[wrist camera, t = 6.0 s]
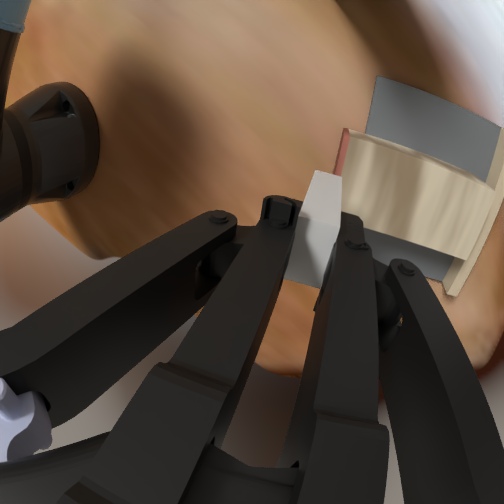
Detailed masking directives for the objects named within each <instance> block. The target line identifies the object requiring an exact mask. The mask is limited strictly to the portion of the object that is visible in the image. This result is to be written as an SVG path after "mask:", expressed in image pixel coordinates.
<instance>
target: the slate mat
mask: <svg viewBox="0 0 504 504" xmlns="http://www.w3.org/2000/svg"><path fill="white" fill-rule="evenodd" d="M365 134H368V135H371V136H374V137H378V138H381V139H384V140H387V141H390V142H393V143H396V144H399V145H402V146H405V147H408V148H410V149H413V150H416V151H419V152H421V153H424V154H426V155H429V156H432V157H434V158H437V159H439V160H442V161H444V162H446V163H449V164H451V165H454V166H456V167H458V168H461V169H463V170H465V171H467V172H469V173H472V174H474V175H475V176H477V177H478V178H479V179H481V180H482V181H483V182H484V183H486V184H487V185H488V186H489V187H491V188H492V189H493V190H494V191H496V194H495V197H494V199H493V202H492V205H491V207H490V210H489V212H488V215H487V217H486V219H485V222H484V224H483V226H482V229H481V231H480V233H479V235H478V238H477V240H476V242H475V244H474V246H473V248H472V250H471V252H470V254H469V256H468V258H467V260H463V259H460V258H457V257H455V256H452V255H449V254H446V253H443V252H440V251H437V250H434V249H431V248H428V247H425V246H422V245H419V244H416V243H413V242H410V241H407V240H403V239H400V238H397V237H394V236H391V235H387V234H384V233H381V232H377V231H374V230H371V229H367V228H364V227H363V228H364V235H365V242H367V243H368V244H369V245H370V247H371V249H372V257H373V258H374V259H376V260H377V261H379V262H381V263H383V264H385V265H387V266H389V264H390V262H391V260H392V259H395V258H399V259H404V260H405V259H406V260H408V261H409V262H412V263H413V264H414V265H416V266H417V267H418V268H419V269H420V270H421V272H422V273H423V275H424V277H428V278H431V279H435V280H438V281H441V282H443V285H444V288H445V290H446V293H447V294H449V295H452V296H457V295H458V293H459V291H460V290H461V288H462V286H463V284H464V282H465V281H466V279H467V277H468V275H469V273H470V271H471V269H472V268H473V266H474V264H475V262H476V260H477V258H478V256H479V254H480V252H481V250H482V247H483V245H484V243H485V241H486V239H487V237H488V234H489V232H490V230H491V228H492V225H493V223H494V221H495V218H496V216H497V213H498V211H499V208H500V206H501V203H502V200H503V198H504V128H502V127H500V126H498V125H496V124H494V123H492V122H491V121H489V120H487V119H485V118H483V117H481V116H479V115H477V114H475V113H473V112H471V111H469V110H467V109H465V108H463V107H460V106H458V105H456V104H454V103H452V102H449V101H447V100H445V99H442V98H440V97H437V96H435V95H433V94H430V93H427V92H425V91H422V90H420V89H417V88H414V87H411V86H409V85H406V84H403V83H400V82H397V81H394V80H391V79H388V78H384V77H381V76H377V77H376V82H375V87H374V93H373V98H372V102H371V107H370V112H369V117H368V121H367V126H366V130H365Z"/></svg>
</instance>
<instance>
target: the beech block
mask: <svg viewBox="0 0 504 504" xmlns="http://www.w3.org/2000/svg"><path fill="white" fill-rule="evenodd" d="M333 175H337V176H340V177H342V197H341V211H343V212H346V213H350V214H353V215H357V216H359V217H360V219H361V220H362V221H363V226H364V228H367V229H371V230H374V231H377V232H381V233H384V234H387V235H391V236H394V237H397V238H400V239H403V240H407V241H410V242H413V243H416V244H419V245H422V246H425V247H428V248H431V249H434V250H437V251H440V252H443V253H446V254H449V255H452V256H455V257H457V258H460V259H463V260H467V258H468V256H469V254H470V252H471V250H472V248H473V246H474V244H475V242H476V240H477V238H478V235H479V233H480V231H481V229H482V226H483V224H484V222H485V219H486V217H487V215H488V212H489V210H490V207H491V205H492V202H493V199H494V197H495V194H496V191H494V190H493V189H492V188H491V187H489V186H488V185H487V184H486V183H484V182H483V181H482V180H481V179H479V178H478V177H477V176H475V175H474V174H472V173H469V172H467V171H465V170H463V169H461V168H458V167H456V166H454V165H451V164H449V163H446V162H444V161H442V160H439V159H437V158H434V157H432V156H429V155H426V154H424V153H421V152H419V151H416V150H413V149H410V148H408V147H405V146H402V145H399V144H396V143H393V142H390V141H387V140H384V139H381V138H378V137H374V136H371V135H368V134H364V133H361V132H358V131H354V130H351V129H347V128H343V132H342V137H341V141H340V145H339V150H338V154H337V158H336V162H335V166H334V171H333Z"/></svg>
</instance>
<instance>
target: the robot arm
mask: <svg viewBox="0 0 504 504" xmlns="http://www.w3.org/2000/svg"><path fill="white" fill-rule="evenodd" d="M30 3H31V0H0V222H1V221H3V220H4V219H5V218H7V217H9V216H10V215H12V214H13V213H15V212H17V211H18V210H20V209H21V208H23V207H25V206H27V205H31V204H38V203H45V202H53V201H60V200H65V199H67V198H70V197H71V196H73V195H75V194H77V193H79V192H81V191H82V190H83V189H84V188H86V186H87V185H88V184H89V183H90V181H91V179H92V177H93V175H94V173H95V170H96V167H97V162H98V156H99V133H98V126H97V121H96V118H95V114H94V111H93V109H92V107H91V104H90V102H89V101H88V99H87V97H86V96H85V95H84V93H83V92H82V91H81V90H80V89H79V88H78V87H76V86H75V85H73V84H71V83H68V82H56V83H50V84H46V85H43V86H40V87H38V88H37V89H35V90H33V91H32V92H30V93H29V94H27V95H26V96H24V97H22V98H21V99H19V100H18V101H16V102H15V103H14V104H12V105H11V106H9V107H8V108H6V109H4V107H5V101H6V95H7V89H8V84H9V79H10V74H11V69H12V65H13V61H14V57H15V53H16V49H17V46H18V42H19V39H20V35H21V33H23V32H24V29H25V25H24V22H25V19H26V15H27V12H28V9H29V6H30ZM341 197H342V177H340V176H337V175H333V174H329V173H326V172H322V171H318V170H315V173H314V175H313V178H312V181H311V183H310V186H309V189H308V192H307V194H306V197H305V200H304V202H303V201H299V200H295V199H291V198H288V197H285V196H279V195H271V196H266V197H265V198H264V199H263V205H262V211H261V217H260V220H259V222H258V223H257V225H256V226H239V225H237V218H236V217H235V216H234V215H233V214H231V213H228V212H225V211H222V210H215V211H208V212H205V213H203V214H201V215H199V216H197V217H195V218H193V219H192V220H190V221H188V222H186V223H184V224H182V225H180V226H178V227H177V228H175V229H173V230H171V231H169V232H167V233H165V234H164V235H162V236H160V237H158V238H156V239H155V240H153V241H151V242H149V243H147V244H146V245H144V246H142V247H140V248H138V249H137V250H135V251H133V252H131V253H130V254H128V255H126V256H124V257H123V258H121V259H119V260H118V261H116V262H114V263H112V264H111V265H109V266H107V267H106V268H104V269H102V270H101V271H99V272H97V273H96V274H94V275H92V276H91V277H89V278H87V279H86V280H84V281H83V282H81V283H79V284H77V285H76V286H74V287H73V288H71V289H69V290H68V291H66V292H65V293H63V294H61V295H60V296H58V297H57V298H55V299H53V300H52V301H50V302H49V303H47V304H46V305H44V306H43V307H41V308H40V309H38V310H36V311H35V312H33V313H32V314H30V315H29V316H28V317H26V318H24V319H23V320H22V321H20V322H18V323H17V324H16V325H14V326H13V327H10V328H7V329H4V330H2V331H0V504H383V503H384V497H385V488H386V479H387V470H388V458H389V431H388V429H387V427H386V426H385V425H381V424H379V422H378V416H377V414H378V386H379V377H380V381H381V384H382V389H383V393H384V397H385V401H386V405H387V410H388V414H389V419H390V423H391V428H392V433H393V438H394V443H395V449H396V454H397V460H398V465H399V471H400V477H401V484H402V490H403V498H404V504H504V448H503V446H502V442H501V439H500V436H499V433H498V430H497V427H496V424H495V421H494V418H493V415H492V413H491V410H490V407H489V405H488V402H487V400H486V397H485V395H484V392H483V390H482V387H481V385H480V382H479V380H478V378H477V375H476V373H475V371H474V369H473V366H472V364H471V362H470V360H469V358H468V356H467V354H466V352H465V349H464V347H463V345H462V343H461V341H460V339H459V337H458V335H457V333H456V331H455V330H454V328H453V326H452V324H451V322H450V320H449V318H448V316H447V315H446V313H445V311H444V309H443V307H442V305H441V304H440V302H439V300H438V298H437V297H436V295H435V293H434V292H433V290H432V288H431V286H430V285H429V283H428V281H427V280H426V278H425V277H424V275H423V273H422V272H421V270H420V269H419V268H418V267H417V266H416V265H414V264H413V263H412V262H409V261H408V260H406V259H405V260H404V259H399V258H395V259H392V260H391V262H390V264H389V266H387V265H385V264H383V263H381V262H379V261H377V260H376V259H374V258H373V257H372V249H371V247H370V245H369V244H368V243H367V242H365V235H364V228H363V227H364V226H363V221H362V220H361V219H360V217H359V216H357V215H353V214H350V213H346V212H343V211H341ZM283 278H284V279H287V280H291V281H294V282H298V283H301V284H305V285H309V286H312V287H316V288H319V289H320V288H321V290H320V293H319V295H318V298H317V301H316V304H315V306H314V309H313V311H315V316H314V321H313V326H312V331H311V336H310V341H309V346H308V350H307V355H306V359H305V364H304V368H303V373H302V377H301V381H300V385H299V389H298V394H297V398H296V402H295V406H294V410H293V414H292V417H291V421H290V425H289V428H288V432H287V436H286V440H285V443H284V446H283V450H282V453H281V456H280V458H279V460H278V462H277V464H276V467H275V468H264V467H251V466H248V465H246V464H244V463H243V462H241V461H239V460H237V459H236V458H234V457H232V456H231V455H229V454H227V453H226V452H224V451H222V450H221V446H222V443H223V440H224V438H225V435H226V432H227V430H228V428H229V425H230V423H231V420H232V418H233V415H234V413H235V410H236V408H237V405H238V402H239V400H240V397H241V395H242V392H243V390H244V387H245V385H246V382H247V379H248V377H249V374H250V372H251V369H252V366H253V364H254V361H255V358H256V356H257V353H258V350H259V348H260V345H261V342H262V339H263V337H264V334H265V331H266V329H267V326H268V323H269V320H270V317H271V315H272V312H273V309H274V306H275V303H276V301H277V298H278V295H279V292H280V289H281V286H282V282H283ZM322 282H323V283H322ZM321 285H322V287H321ZM205 304H206V305H205ZM204 305H205V306H204ZM203 306H204V308H203V309H202V311H201V312H200V314H199V316H198V317H197V319H196V320H195V322H194V324H193V325H192V327H191V329H190V330H189V331H188V333H187V335H186V337H185V338H184V340H183V341H182V343H181V344H180V346H179V348H178V349H177V351H176V352H175V354H174V356H173V357H172V358H171V360H170V361H169V362H168V363H162V362H159V363H158V364H156V365H155V366H154V367H153V368H152V369H151V371H150V372H149V373H148V375H147V376H146V378H145V379H144V381H143V382H142V384H141V385H140V387H139V388H138V390H137V391H136V393H135V395H134V396H133V398H132V399H131V401H130V402H129V404H128V405H127V407H126V408H125V410H124V411H123V413H122V415H121V416H120V418H119V419H118V421H117V422H116V424H115V425H114V427H113V429H112V430H111V431H110V432H106V433H102V434H100V435H97V436H94V437H91V438H88V439H85V440H82V441H79V442H76V443H73V444H70V445H66V446H63V447H60V448H57V449H53V450H49V451H46V452H42V453H38V454H35V455H33V454H34V452H36V451H37V450H39V449H43V450H44V449H47V448H49V447H50V446H51V443H52V435H51V429H52V428H54V427H57V426H59V425H61V424H63V423H65V422H67V421H68V420H70V419H72V418H73V417H75V416H76V415H77V414H79V413H80V412H82V411H83V410H84V409H86V408H87V407H88V406H89V405H90V404H92V403H93V402H94V401H95V400H96V399H97V398H98V397H100V396H101V395H102V394H103V393H104V392H105V391H107V390H108V389H109V388H110V387H111V386H112V385H114V384H115V383H116V382H117V381H118V380H119V379H120V378H122V377H123V376H124V375H125V374H126V373H127V372H129V371H130V370H131V369H132V368H133V367H134V366H136V365H137V364H138V363H139V362H140V361H141V360H142V359H144V358H145V357H146V356H147V355H148V354H149V353H150V352H152V351H153V350H154V349H155V348H156V347H157V346H159V345H160V344H161V343H162V342H163V341H164V340H165V339H167V338H168V337H169V336H170V335H171V334H172V333H173V332H175V331H176V330H177V329H178V328H179V327H180V326H181V325H183V324H184V323H185V322H186V321H187V320H188V319H189V318H191V317H192V316H193V315H194V314H195V313H196V312H197V311H199V310H200V309H201V308H202V307H203ZM401 317H402V324H401V322H400V319H401Z"/></svg>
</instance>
